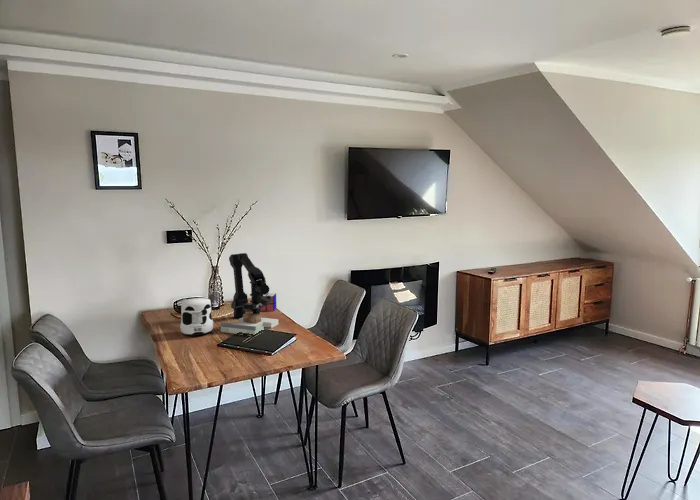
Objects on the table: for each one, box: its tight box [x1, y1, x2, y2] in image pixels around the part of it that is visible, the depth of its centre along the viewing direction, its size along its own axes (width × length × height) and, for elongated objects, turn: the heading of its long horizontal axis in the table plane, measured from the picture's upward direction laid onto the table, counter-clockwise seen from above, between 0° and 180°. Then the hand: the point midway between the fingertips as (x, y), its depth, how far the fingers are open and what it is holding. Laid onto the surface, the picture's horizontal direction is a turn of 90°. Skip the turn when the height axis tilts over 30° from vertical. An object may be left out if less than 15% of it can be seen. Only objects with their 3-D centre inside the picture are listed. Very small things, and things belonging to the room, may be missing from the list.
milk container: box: [179, 297, 214, 337], centre depth 259 cm, size 17×17×18 cm
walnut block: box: [243, 312, 262, 324], centre depth 272 cm, size 9×5×4 cm, turn 67°
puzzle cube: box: [260, 292, 277, 312], centre depth 314 cm, size 10×10×10 cm
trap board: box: [220, 317, 279, 335], centre depth 270 cm, size 22×25×5 cm
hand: (257, 318), depth 276 cm, fingers closed
